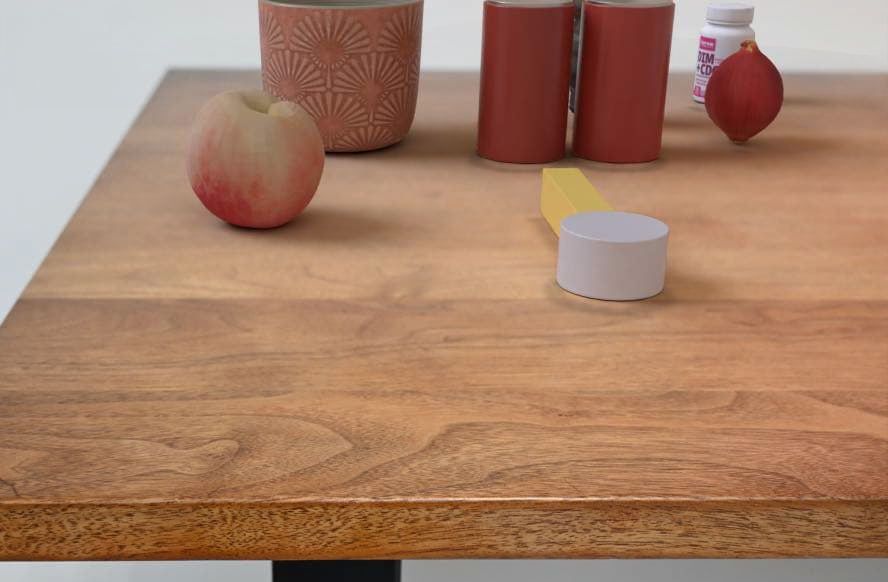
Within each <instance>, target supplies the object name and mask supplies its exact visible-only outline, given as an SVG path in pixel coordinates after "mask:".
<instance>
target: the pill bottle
mask: <svg viewBox="0 0 888 582" xmlns="http://www.w3.org/2000/svg"><path fill="white" fill-rule="evenodd" d="M706 8H707V9H706V14H705V18H706V19H705V21H706V22H707V24H706V25H705V26H703V27H702V28H701V29H700V32H699V39H698V48H697V55H696V56H697V57H696V66H695V75H694V83H693V91H692V99H693V100H695V101H696V102H699V103H702V104H705V100H704V95H705V90H706V85H707V83H708V81H709V78H710V76H711V75H712V73H713V72H714V70H715V69H716V68H717V67H718V65H719V64H720V63H721V62H722V61H723V60H725V59H726V58H727V57H729V56H730V55H732V54H734V53H736V52H738V51H739V50H740V48H741V46H740V43H742V42H743V41H745V40H746V39H753V40H755V41H756V31H755V30H754V29H753V28H752V27H751V24H753V21H754V17H755V6H754V5H752V4H747V3H739V2H712V3H711V2H710V3H709V4H708V5H707V7H706Z"/></svg>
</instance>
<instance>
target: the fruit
mask: <svg viewBox="0 0 888 582" xmlns="http://www.w3.org/2000/svg"><path fill="white" fill-rule="evenodd" d="M184 147H185V148H184V162H185V163H184V164H185V165H184V166H185V170H186V175H187V178H188V180H189V183H190V186H191V188H192V191H193V192H194V194H195V196H196V197H197V198H198V200H199V201H200V202H201V204H202V205H203V206H204V208H205V209H206V210H207V211H208V212H210V214H212V215H213V216H215V217H216V218H218V219H219V220H221V221H223V222H225V223H229V224H231V225H234V226H237V227H242V228H251V229H252V228H253V229H271V228H276V227H280V226H282V225H284V224H286V223H288V222H290V221H292V220H294V219H295V218H297V217H298V216H299V215H300V214H301V213H302V212H303V211H304V210H305V209H306V208H307V207H308V206H309V204H310V203H311V201H312V200H313V199H314V196H315V195H316V192H317V191H318V188H319V185H320V182H321V180H322V176H323V173H324V168H325V160H326V159H325V158H326V151H324V146H323V142H322V139H321V136H320V133H319V131H318V128H317V126H316V124H315V122H314V121H313V119H312V118H311V116H310V115H309V114H308V112H307V111H306V110H305V109H304V108H302V107H301V106H300V105H298V104H296V103H294V102H289V101H280V100H279V99H278V98H277V97H276V96H274V95H272V94H270V93H268V92H266V91H263V89H258V88H251V87H250V88H249V87H248V88H232V89H229V90H224V91H221V92H219V93H217V94H216V95H214V96H213V97H211V98H210V99H208V100H207V101H206V102H205V103H204V104H203V106H201V108H200V110H199V111H198V113H197V114H196V116H195V117H194V119H193V122H192V124H191V126H190V129H189V131H188V135H187V137H186V143H185V146H184Z"/></svg>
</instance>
